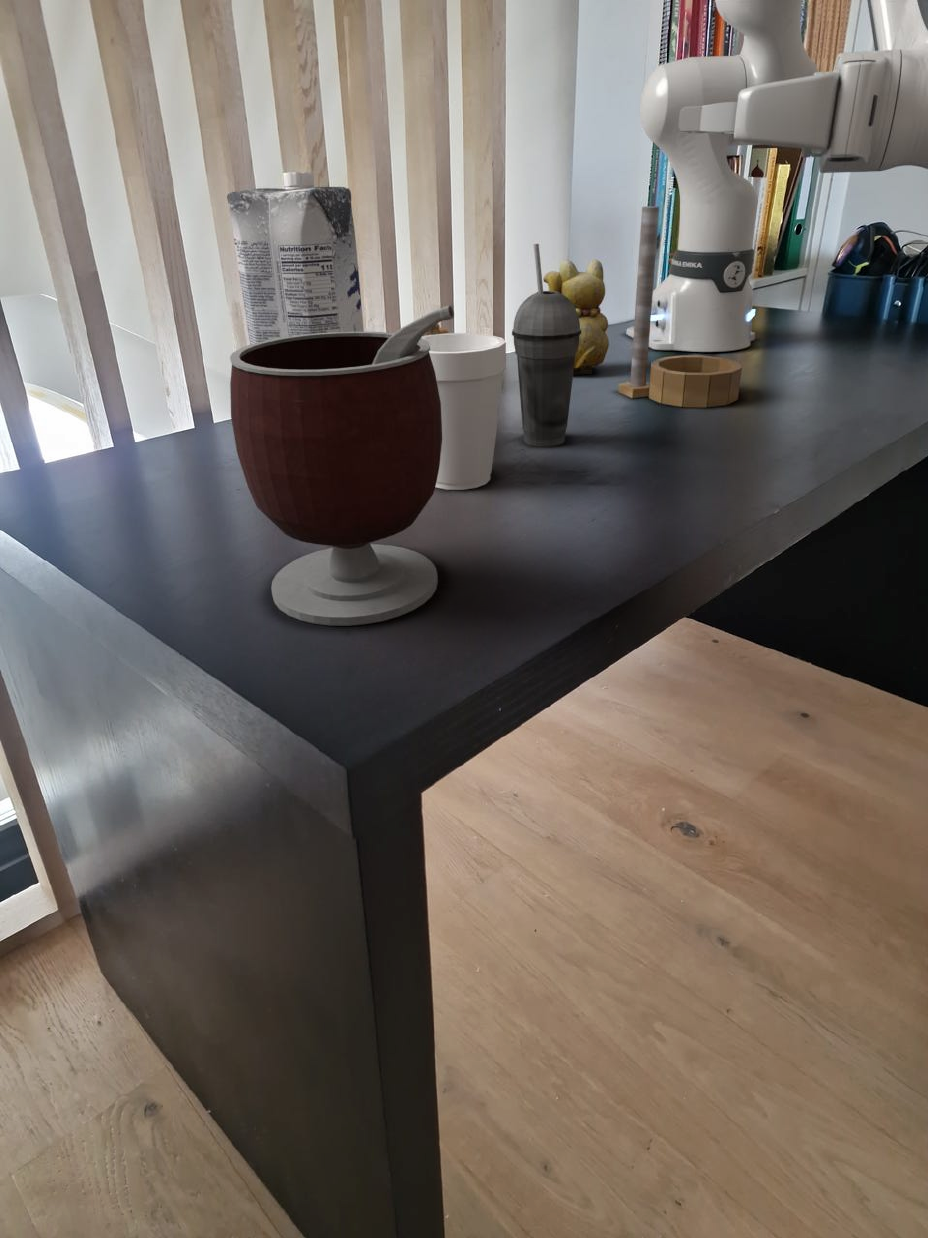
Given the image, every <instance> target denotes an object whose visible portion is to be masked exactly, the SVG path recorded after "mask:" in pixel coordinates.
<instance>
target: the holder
mask: <svg viewBox="0 0 928 1238" xmlns="http://www.w3.org/2000/svg"><path fill="white" fill-rule="evenodd" d="M659 216H660V206H658V205H657V206H656V205H653V206H651V205H649V206H648V205H647V206H642V207H641V217H640V218H641V219H640V232H639V247H638V250H639V251H638V260H637V275H636V276H637V277H636V290H635V291H636V292H635V305H634V306H635V307H634V324H633V327H634V335H633V338H632V352H631V367H630V381H626V382H620V383H618V393H619V394H621V395H623V396H625V397H629V398H631V399H640V398H646V397H648V398H649V399H650V400H652V401H654V402H656V403H659V404H661V405H665V406H666V405H667V406H674V407H679V408H705V409H706V408H715V407H722V406H728V405H730V404H732V403H734V402H736V401H738V400H739V393H740V385H741V377H742V371H743V370H742V369H743V367H742V365H741V363H740V362H739V361H737V360H733V359H731V358H726V357H721V356H720V357H719V356H711V355H688V354H686V355H674V356H665V357H660V358H658V359H655V360H652V361H651V362H650V369H649V381H647V376H648V375H647V372H648V360H649V350H650V349H649V348H650V347H649V336H650V323H651V310H652V297H653V291H654V281H655V270H656V269H655V268H656V258H657V257H656V256H657V244H658V242H657V241H658V231H659Z"/></svg>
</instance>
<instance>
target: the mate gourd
mask: <svg viewBox="0 0 928 1238" xmlns="http://www.w3.org/2000/svg"><path fill="white" fill-rule="evenodd" d="M454 318H455V311H454V308H453V306H452V305H451V304H450V305H446V306H442V307H441V308H438V309H435V310H433V311H431V312H428V313H427V314H425V315H423V316H421V317H420V318H417V319H416V320H413V321H412V322H409V324H406V325H404V326H403V327H402V328H400V329H398V330H397V331H396V332H384V331H383V332H382V331H364V332H360V331H357V332H328V333H315V334H304V335H296V336H288V337H283V338H277V339H271V340H267V341H262V342H258V343H255V344H251V345H250V344H248V345H245V346H243V347H240V348H238V349H236V350H235V351H233V352H232V353H231V355H230V357H229V360H230V363H231V370H230V381H229V382H230V384H229V385H230V388H229V390H230V419H231V425H232V431H233V437H234V443H235V449H236V453H237V457H238V461H239V463H240V467H241V469H242V472H243V475H244V479H245V483H246V485H247V488H248V490H249V492H250V495H251V497H252V499H253V501H254V503H255V507H256V508H257V509H258V510H260V512H261V513H262V514H263V515H264V516H265V517H267V518H268V520H270V521H271V522H272V523H273V524H274V525H275V526H276V527H277V528H278V529H279V530H280V531H281V532H283V534H284V535H285V536H288V537H290V538H291V539H293V540H296V541H299V542H302V543H308V544H313V545H320V546H329V548H324V549H321V550H318V551H313V552H311V553H308V554H305V555H303V556H301V557H298V558H296V559H294V560H292V561H291V562H289V563H288V564H286V565H285V566H283V567H282V568H281V569H280V570H279V571H278V572H277V573H276V574H275V576H274V578H273V579H272V582H271V588H270V590H271V595H272V599H273V603H274V604H275V606H276V607H277V608H278V609H279V611H280V612H282V613H284V614H286V615H287V616H288V617H291V618H294V619H296V620H298V621H302V622H306V623H310V624H315V625H322V626H330V627H331V626H335V627H337V626H341V627H342V626H343V627H344V626H345V627H350V626H360V625H361V626H362V625H369V624H375V623H381V622H384V621H388V620H391V619H394V618H399V617H401V616H402V615H406V614H408V613H410V612H412V611H414V610H416V609H417V608H419V607H421V606H422V605H424V604H425V603H426V602H427V601H429V600H430V599H431V598H432V597H433V595H434V594H435V592H436V590H437V587H438V583H439V581H438V580H439V579H438V571H437V567H436V566H435V564H434V563H433V561H431V560H430V559H429V558H428V557H426V556H425V555H423V554H421V553H419V552H417V551H415V550H411V549H408V548H405V547H401V546H395V545H392V544H391V545H390V544H377V543H374V542H377V541H380V540H383V539H386V538H390V537H392V536H395V535H397V534H399V533H401V532H403V531H405V530H407V529H408V528H409V527H411V526H412V525H413V524H414V522H415V521H416V520H417V518H418V517H419V515H420V514H421V513H422V512H423V510H424V509H425V507H426V505H427V504H428V503H429V501H430V499H432V497H433V495H434V493H435V491H436V487H435V486H436V481H437V477H438V472H439V466H440V456H441V446H442V420H441V402H440V397H439V391H438V386H437V381H436V375H435V371H434V367H433V364H432V360H431V357H430V353H429V351H430V345H429V343H428V342H427V341H425V340H423V339H421V337H422V336H423V335H424V334H425V333H426V332H427V331H428V330H429V329H430V328H431V327H432V326H434V325H435V324H437V323H438V324H439V323H441V322H443V321H449V320H453V319H454Z"/></svg>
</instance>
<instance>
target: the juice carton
mask: <svg viewBox="0 0 928 1238" xmlns="http://www.w3.org/2000/svg"><path fill="white" fill-rule="evenodd" d="M282 175H283V186H284V188H274V187H273V188H271V187H270V188H269V187H268V188H267V187H266V188H265V187H263V188H252V189H246V190H245V189H244V190H236V191H231V192H230V193H228V194H227V196H226V198H227V202H228V207H229V208H228V209H229V213H230V220H231V226H232V234H233V240H234V241H233V242H234V249H235V254H236V262H237V268H238V275H239V281H240V288H241V295H242V302H243V309H244V316H245V322H246V329H247V334H248V341H249V345H251V344H255V343H258V342H262V341H267V340H271V339H277V338H283V337H288V336H296V335H304V334H315V333H328V332H357V331H360V332H365V329H364V320H363V318H364V317H363V309H362V295H361V285H360V273H359V262H358V250H357V240H356V231H355V223H354V216H353V207H352V191H351V189H350V188H348V187H345V186H315V178H314V177H315V176H314V173H312V172H306V171H305V172H303V171H302V172H300V171H293V172H291V171H289V172H283V174H282Z"/></svg>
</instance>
